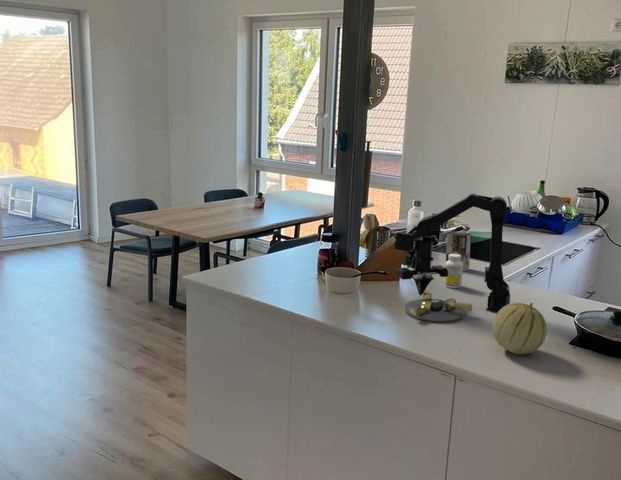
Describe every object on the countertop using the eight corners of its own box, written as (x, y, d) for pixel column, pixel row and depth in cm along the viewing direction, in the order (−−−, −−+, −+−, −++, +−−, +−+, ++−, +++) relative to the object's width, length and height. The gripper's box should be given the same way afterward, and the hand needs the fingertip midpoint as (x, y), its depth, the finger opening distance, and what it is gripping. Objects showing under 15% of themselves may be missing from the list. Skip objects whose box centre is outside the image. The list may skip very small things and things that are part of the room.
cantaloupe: (480, 346, 172) (484, 298, 169) (518, 339, 178) (523, 292, 174) (515, 366, 159) (520, 314, 155) (555, 357, 164) (561, 307, 161)
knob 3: (445, 310, 197) (446, 301, 196) (445, 306, 200) (446, 298, 199) (472, 312, 195) (472, 303, 195) (471, 309, 198) (472, 300, 198)
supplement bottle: (448, 282, 235) (450, 252, 232) (464, 286, 231) (466, 254, 228) (441, 286, 230) (443, 255, 227) (456, 289, 225) (458, 258, 223)
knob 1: (424, 309, 198) (424, 300, 197) (432, 311, 196) (433, 302, 195) (410, 315, 192) (410, 306, 191) (418, 317, 189) (419, 308, 189)
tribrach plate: (474, 312, 200) (475, 300, 199) (444, 327, 186) (445, 314, 185) (424, 299, 214) (425, 288, 213) (393, 312, 199) (394, 300, 198)
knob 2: (431, 304, 203) (432, 295, 202) (422, 303, 203) (423, 295, 202) (429, 296, 211) (429, 288, 211) (420, 296, 212) (420, 287, 211)
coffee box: (469, 268, 256) (472, 233, 253) (464, 272, 251) (467, 235, 247) (449, 265, 261) (451, 230, 257) (444, 268, 256) (447, 233, 252)
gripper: (434, 247, 217) (431, 286, 220) (389, 249, 211) (387, 290, 214) (451, 254, 206) (447, 295, 210) (404, 256, 200) (401, 299, 204)
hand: (420, 295), depth 210 cm, fingers closed
